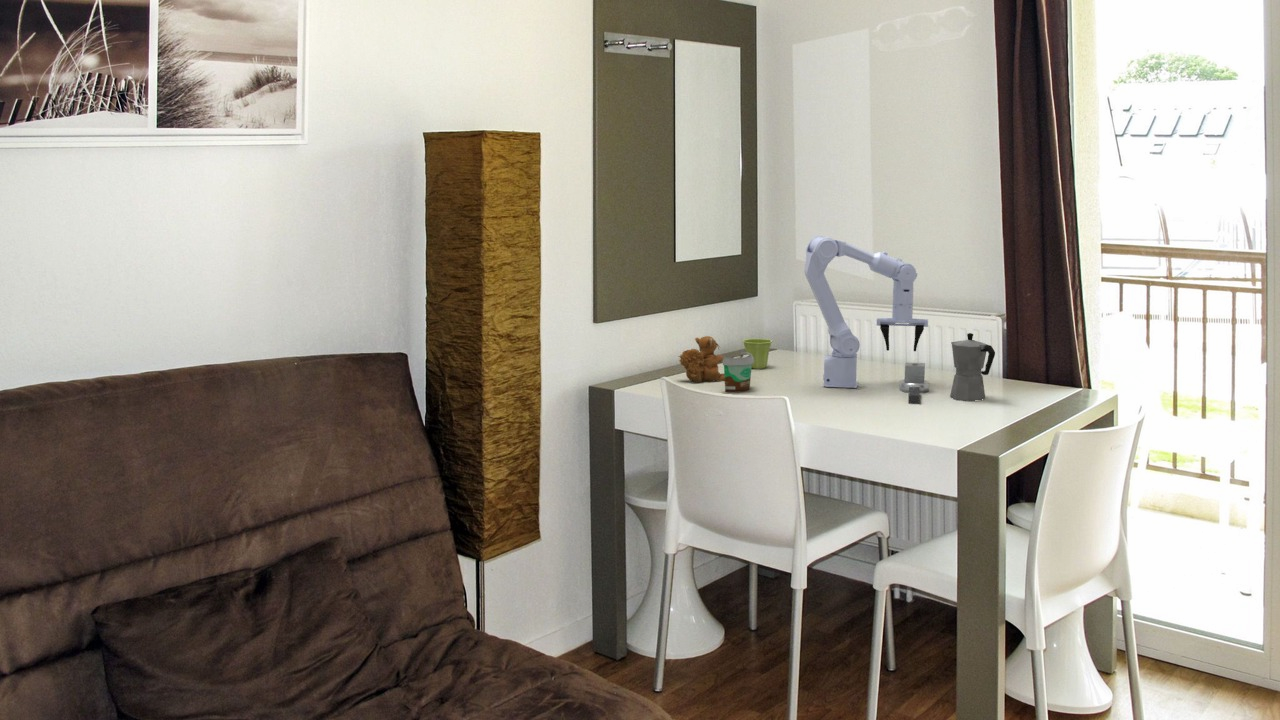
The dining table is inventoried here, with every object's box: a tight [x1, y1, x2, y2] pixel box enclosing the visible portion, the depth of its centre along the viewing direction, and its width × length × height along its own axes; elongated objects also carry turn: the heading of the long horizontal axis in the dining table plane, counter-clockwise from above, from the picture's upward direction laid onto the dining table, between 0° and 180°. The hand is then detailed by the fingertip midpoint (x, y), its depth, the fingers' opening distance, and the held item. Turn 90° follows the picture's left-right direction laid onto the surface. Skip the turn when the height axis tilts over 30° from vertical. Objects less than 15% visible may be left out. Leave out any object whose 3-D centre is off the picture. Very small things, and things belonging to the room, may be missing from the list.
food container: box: [722, 351, 754, 393], centre depth 310 cm, size 12×6×10 cm, turn 148°
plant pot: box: [742, 338, 773, 370], centre depth 346 cm, size 9×9×9 cm
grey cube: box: [904, 362, 926, 384], centre depth 307 cm, size 5×5×5 cm
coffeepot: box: [949, 332, 996, 402], centre depth 294 cm, size 15×9×18 cm, turn 29°
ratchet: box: [899, 378, 930, 405], centre depth 301 cm, size 8×22×5 cm, turn 166°
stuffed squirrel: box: [678, 335, 725, 384], centre depth 325 cm, size 10×14×13 cm
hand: (901, 350), depth 316 cm, fingers open, 7 cm apart
